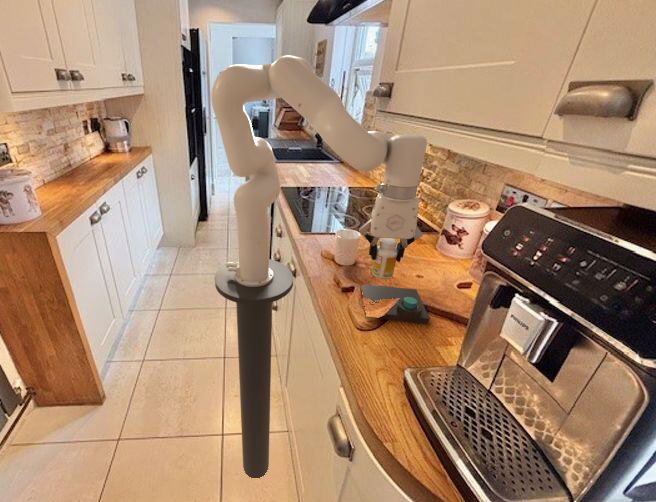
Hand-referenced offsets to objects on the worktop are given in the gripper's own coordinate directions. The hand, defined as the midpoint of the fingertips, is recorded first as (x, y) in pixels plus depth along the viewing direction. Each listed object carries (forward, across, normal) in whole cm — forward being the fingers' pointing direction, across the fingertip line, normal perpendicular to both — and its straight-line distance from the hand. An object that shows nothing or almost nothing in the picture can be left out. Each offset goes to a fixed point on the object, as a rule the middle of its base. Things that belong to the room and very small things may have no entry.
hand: (385, 257), depth 84 cm
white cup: (+13, -8, +20) cm, 25 cm away
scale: (+13, +4, -2) cm, 14 cm away
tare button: (+10, +7, -7) cm, 14 cm away
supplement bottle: (+5, 0, 0) cm, 5 cm away
